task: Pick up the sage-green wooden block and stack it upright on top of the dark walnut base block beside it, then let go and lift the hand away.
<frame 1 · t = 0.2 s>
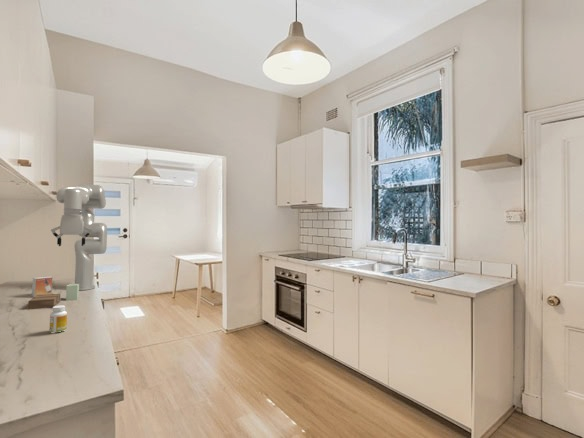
hand: (71, 245, 163), 30 cm above the worktop, tool pointing down, fingers open, 9 cm apart
supplement bottle: (57, 331, 124), on the worktop
sage block: (72, 299, 175), on the worktop
walnut base: (45, 305, 161), on the worktop
small box: (41, 296, 181), on the worktop
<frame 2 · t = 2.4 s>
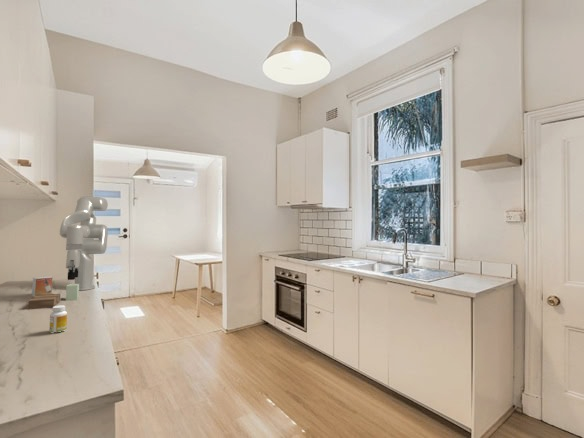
hand: (72, 278, 175), 12 cm above the worktop, tool pointing down, fingers open, 9 cm apart
nothing on the worktop moved.
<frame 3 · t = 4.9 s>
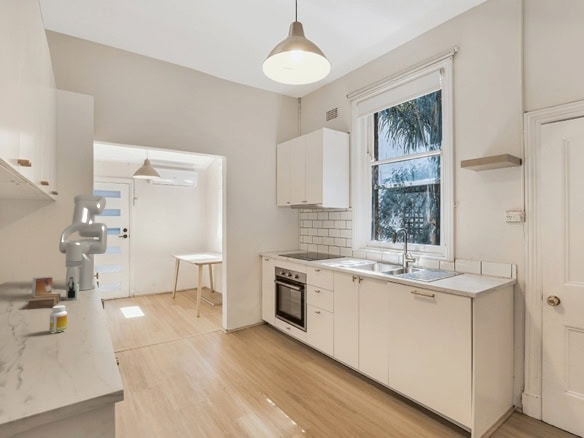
hand: (72, 296, 175), 1 cm above the worktop, tool pointing down, fingers closed on sage block, 5 cm apart
sage block: (72, 299, 175), on the worktop, touching gripper
everything else where it was.
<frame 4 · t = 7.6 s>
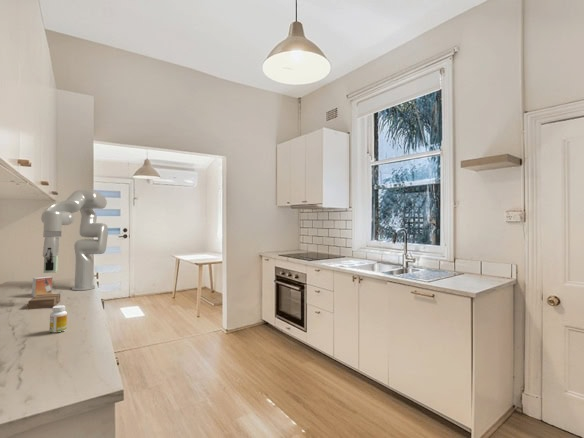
hand: (50, 269, 164), 18 cm above the worktop, tool pointing down, fingers closed on sage block, 5 cm apart
sage block: (50, 272, 164), point 16 cm above the worktop, touching gripper
everything else where it was.
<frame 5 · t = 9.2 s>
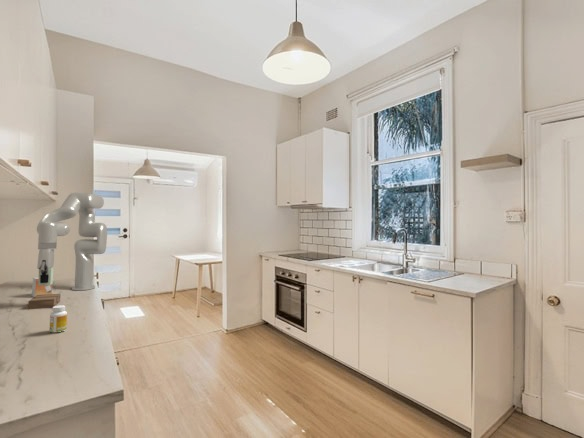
hand: (45, 281, 162), 12 cm above the worktop, tool pointing down, fingers closed on sage block, 5 cm apart
sage block: (45, 284, 162), point 11 cm above the worktop, touching gripper
everything else where it was.
when the fingers open (7 cm above the worktop, at t = 10.5 s): sage block drops 1 cm, resting on walnut base.
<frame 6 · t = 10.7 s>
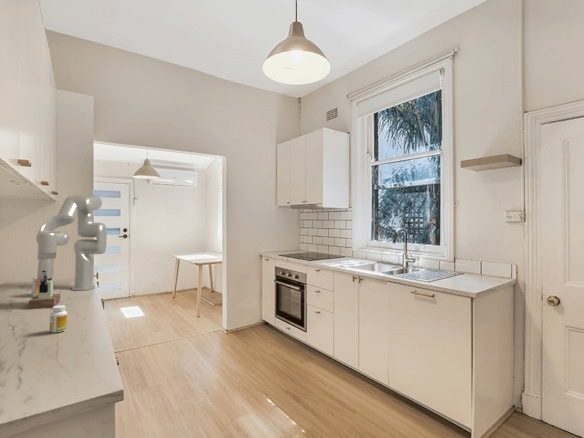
hand: (45, 290, 162), 7 cm above the worktop, tool pointing down, fingers open, 7 cm apart
sage block: (45, 297, 162), point 4 cm above the worktop, touching walnut base
everything else where it was.
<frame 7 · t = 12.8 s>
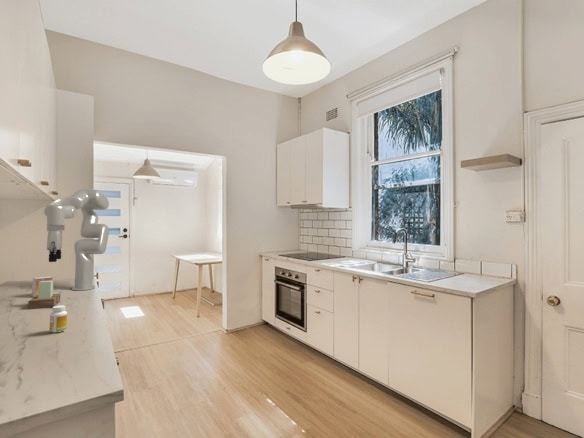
hand: (55, 260, 168), 22 cm above the worktop, tool pointing down, fingers open, 9 cm apart
nothing on the worktop moved.
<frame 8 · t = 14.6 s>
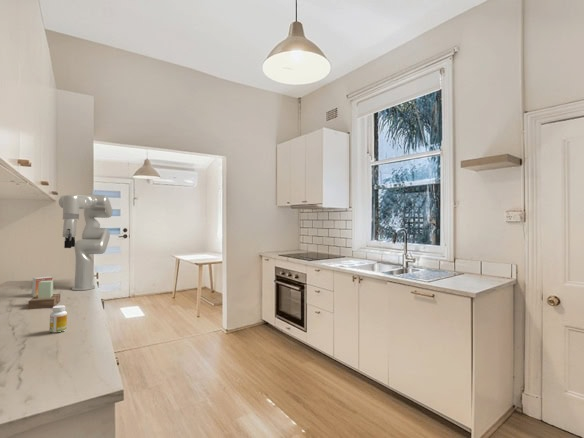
hand: (69, 247, 179), 28 cm above the worktop, tool pointing down, fingers open, 9 cm apart
nothing on the worktop moved.
at the end: sage block inside the target area on the walnut base (0.2 cm from its centre), point 4.0 cm above the walnut base's base; sage block tilted 0°; the gripper is holding nothing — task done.
